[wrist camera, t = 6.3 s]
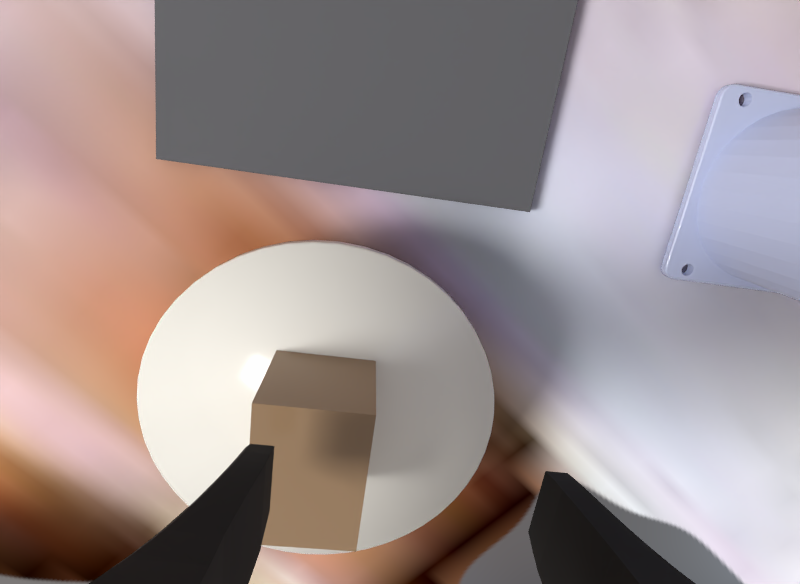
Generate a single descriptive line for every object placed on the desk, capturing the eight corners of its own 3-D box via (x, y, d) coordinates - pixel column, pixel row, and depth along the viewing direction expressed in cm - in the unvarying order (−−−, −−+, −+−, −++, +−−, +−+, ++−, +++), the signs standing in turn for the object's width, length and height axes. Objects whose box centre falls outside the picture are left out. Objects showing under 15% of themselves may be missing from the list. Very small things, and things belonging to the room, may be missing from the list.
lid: (523, 265, 17) (569, 303, 13) (457, 552, 20) (477, 649, 17) (141, 215, 15) (62, 241, 12) (147, 531, 19) (90, 630, 15)
